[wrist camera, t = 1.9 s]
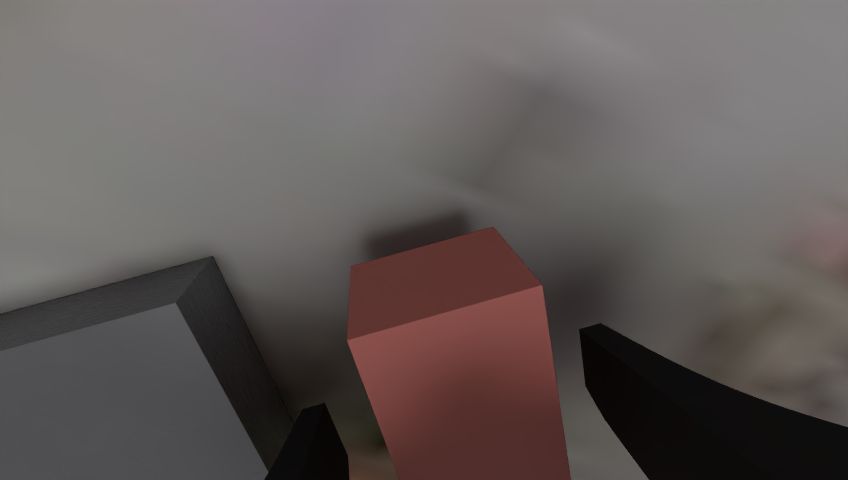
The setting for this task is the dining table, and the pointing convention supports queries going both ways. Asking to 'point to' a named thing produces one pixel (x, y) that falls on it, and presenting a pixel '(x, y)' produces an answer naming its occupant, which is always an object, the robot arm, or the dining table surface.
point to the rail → (138, 385)
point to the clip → (459, 361)
